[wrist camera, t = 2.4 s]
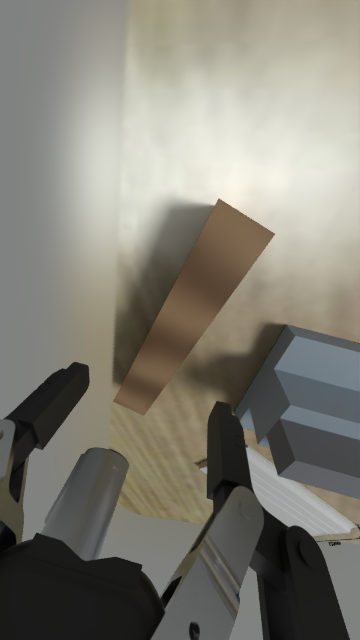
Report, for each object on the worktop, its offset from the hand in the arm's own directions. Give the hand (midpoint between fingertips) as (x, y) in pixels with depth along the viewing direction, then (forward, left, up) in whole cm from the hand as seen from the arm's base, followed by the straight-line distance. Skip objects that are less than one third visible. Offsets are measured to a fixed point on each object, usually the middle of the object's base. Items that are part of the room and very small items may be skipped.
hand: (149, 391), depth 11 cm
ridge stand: (+13, -15, -9) cm, 22 cm away
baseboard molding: (+3, -39, -10) cm, 41 cm away
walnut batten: (0, 0, -9) cm, 9 cm away
